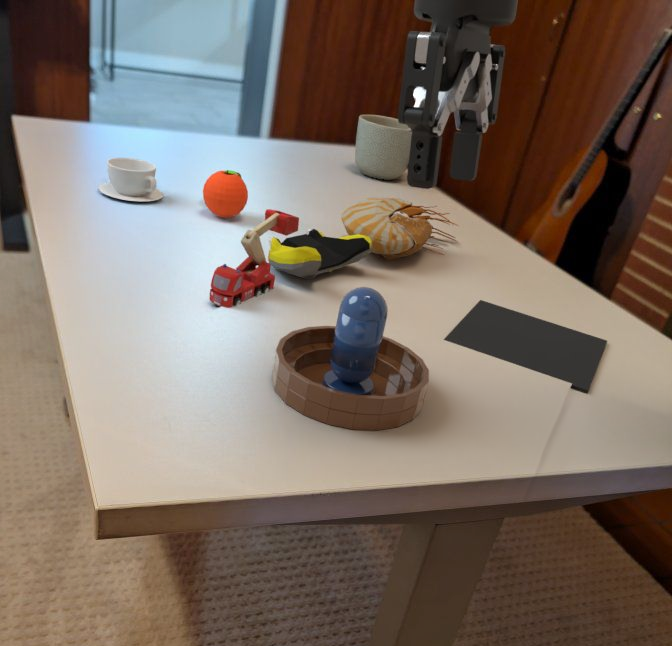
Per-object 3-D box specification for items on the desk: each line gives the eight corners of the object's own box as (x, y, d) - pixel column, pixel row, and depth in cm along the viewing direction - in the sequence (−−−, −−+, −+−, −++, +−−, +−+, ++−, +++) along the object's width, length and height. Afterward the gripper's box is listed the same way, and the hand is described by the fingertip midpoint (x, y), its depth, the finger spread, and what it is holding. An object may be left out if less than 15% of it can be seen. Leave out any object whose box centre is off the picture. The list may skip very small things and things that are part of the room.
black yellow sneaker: (372, 275, 108) (319, 251, 112) (380, 237, 105) (325, 215, 109) (305, 295, 97) (249, 268, 101) (312, 254, 94) (254, 228, 99)
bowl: (438, 391, 81) (447, 358, 79) (388, 454, 68) (397, 416, 66) (312, 346, 85) (318, 313, 83) (243, 397, 72) (248, 360, 70)
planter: (371, 184, 154) (382, 127, 148) (338, 166, 162) (347, 112, 156) (418, 184, 160) (430, 131, 154) (384, 167, 168) (394, 116, 163)
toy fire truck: (205, 304, 89) (212, 223, 84) (269, 278, 100) (278, 205, 95) (228, 313, 88) (236, 232, 83) (290, 286, 99) (301, 213, 94)
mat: (606, 343, 101) (607, 340, 101) (587, 393, 87) (588, 390, 87) (479, 302, 106) (480, 299, 106) (441, 343, 92) (442, 340, 91)
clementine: (220, 205, 123) (224, 160, 120) (256, 217, 121) (262, 172, 118) (192, 214, 117) (195, 167, 113) (230, 226, 115) (235, 179, 111)
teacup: (84, 189, 118) (84, 158, 116) (132, 182, 126) (133, 153, 123) (130, 207, 114) (131, 176, 112) (176, 199, 122) (178, 170, 119)
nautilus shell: (435, 242, 129) (476, 281, 118) (319, 227, 120) (352, 268, 109) (450, 196, 124) (495, 232, 113) (331, 178, 115) (367, 215, 104)
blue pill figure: (380, 388, 78) (403, 290, 72) (360, 408, 73) (383, 305, 68) (334, 371, 79) (353, 273, 73) (313, 390, 75) (331, 288, 69)
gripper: (487, -73, 47) (452, 198, 54) (551, -37, 58) (515, 182, 65) (381, -71, 50) (360, 184, 57) (461, -38, 61) (435, 172, 69)
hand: (442, 183), depth 61 cm, fingers open, 8 cm apart
